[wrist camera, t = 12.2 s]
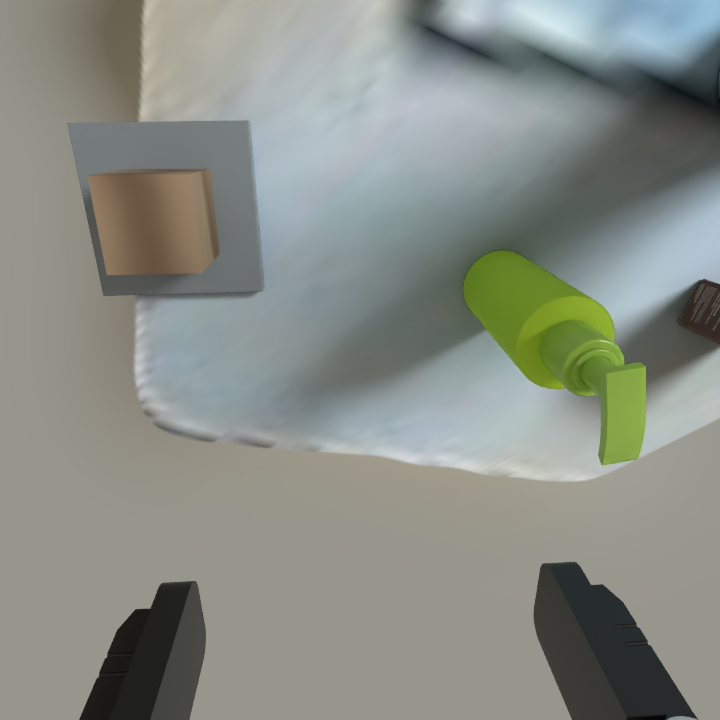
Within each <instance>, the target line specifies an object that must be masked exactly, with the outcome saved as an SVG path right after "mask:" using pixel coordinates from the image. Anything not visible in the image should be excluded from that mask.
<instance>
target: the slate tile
mask: <svg viewBox="0 0 720 720" xmlns="http://www.w3.org/2000/svg"><path fill="white" fill-rule="evenodd" d="M67 124H68V128H69V133H70V138H71V143H72V147H73V152H74V156H75V161H76V166H77V171H78V176H79V180H80V185H81V190H82V195H83V200H84V204H85V209H86V214H87V219H88V223H89V228H90V233H91V238H92V243H93V247H94V252H95V257H96V262H97V266H98V271H99V276H100V281H101V286H102V290H103V295H104V296H112V295H113V296H114V295H149V294H183V293H218V292H252V291H263V289H264V279H263V268H262V256H261V245H260V233H259V222H258V210H257V199H256V187H255V176H254V164H253V153H252V141H251V130H250V121H183V122H117V123H115V122H114V123H113V122H111V123H110V122H109V123H67ZM136 169H210V173H211V182H212V191H213V200H214V209H215V218H216V226H217V235H218V244H219V253H220V254H219V255H218V256H217V257H216V258H215V259H214V261H213V262H212V263H211V264H210V265H209V266H208V267H207V268H206V269H205V271H204V272H203V273H180V274H134V275H107V273H106V268H105V263H104V258H103V253H102V248H101V243H100V238H99V233H98V228H97V223H96V218H95V213H94V208H93V203H92V198H91V193H90V188H89V183H88V178H87V176H88V175H94V174H100V173H106V172H112V171H118V170H136Z"/></svg>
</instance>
